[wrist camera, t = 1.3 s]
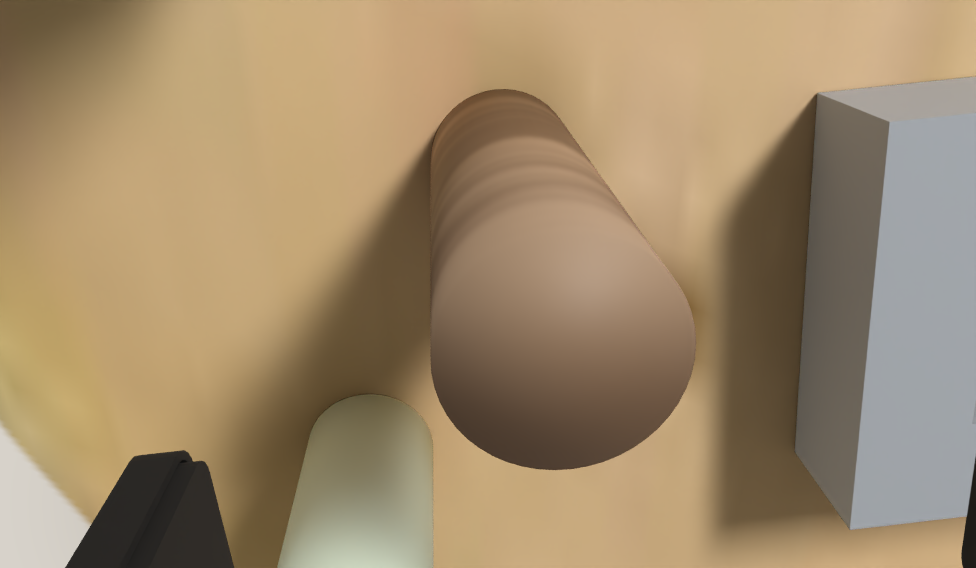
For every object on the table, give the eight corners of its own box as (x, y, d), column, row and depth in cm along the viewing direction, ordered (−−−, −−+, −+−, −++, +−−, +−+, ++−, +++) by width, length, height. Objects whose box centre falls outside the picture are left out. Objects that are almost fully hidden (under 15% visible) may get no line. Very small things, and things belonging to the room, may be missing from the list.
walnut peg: (422, 97, 23) (415, 247, 12) (567, 82, 23) (697, 217, 12) (439, 234, 24) (446, 483, 13) (575, 220, 24) (695, 454, 13)
